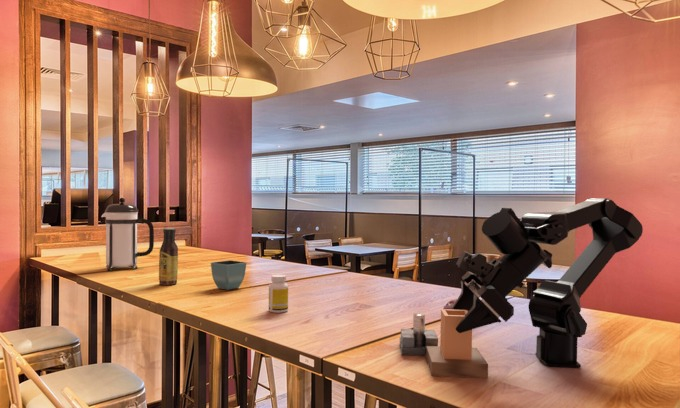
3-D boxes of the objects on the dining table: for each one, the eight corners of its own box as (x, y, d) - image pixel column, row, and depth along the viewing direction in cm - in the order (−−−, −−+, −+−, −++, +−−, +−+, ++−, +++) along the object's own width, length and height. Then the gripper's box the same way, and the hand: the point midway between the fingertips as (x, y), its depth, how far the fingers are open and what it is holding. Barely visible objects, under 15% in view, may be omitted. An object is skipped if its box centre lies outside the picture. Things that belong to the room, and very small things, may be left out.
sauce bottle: (156, 283, 166) (156, 228, 165) (173, 281, 170) (173, 227, 169) (163, 286, 161) (163, 229, 160) (180, 284, 165) (181, 228, 165)
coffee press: (123, 272, 188) (123, 198, 187) (93, 269, 193) (93, 197, 193) (154, 266, 204) (155, 198, 203) (126, 264, 209) (126, 197, 209)
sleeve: (466, 350, 91) (466, 309, 91) (471, 359, 86) (472, 316, 86) (440, 349, 91) (440, 309, 91) (444, 358, 86) (444, 315, 86)
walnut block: (476, 360, 93) (477, 347, 93) (487, 377, 84) (488, 364, 84) (426, 358, 94) (426, 346, 94) (431, 375, 85) (431, 362, 85)
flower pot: (229, 284, 166) (230, 259, 166) (247, 288, 161) (247, 262, 160) (209, 288, 159) (209, 262, 158) (227, 292, 154) (227, 265, 153)
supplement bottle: (292, 310, 130) (292, 275, 130) (276, 314, 126) (277, 278, 126) (279, 307, 134) (280, 273, 134) (264, 310, 130) (264, 275, 130)
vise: (434, 345, 102) (435, 311, 102) (439, 356, 95) (439, 319, 95) (399, 343, 102) (400, 310, 102) (401, 354, 95) (402, 318, 95)
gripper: (472, 232, 97) (418, 284, 98) (495, 241, 79) (428, 305, 80) (510, 271, 97) (456, 322, 98) (542, 289, 78) (474, 352, 79)
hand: (453, 324), depth 89 cm, fingers open, 9 cm apart
